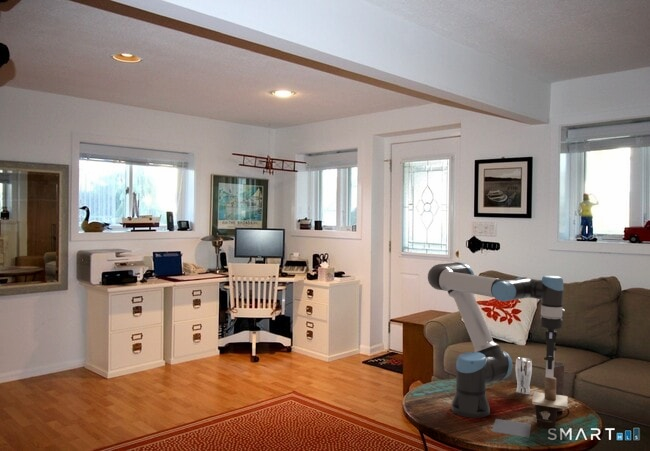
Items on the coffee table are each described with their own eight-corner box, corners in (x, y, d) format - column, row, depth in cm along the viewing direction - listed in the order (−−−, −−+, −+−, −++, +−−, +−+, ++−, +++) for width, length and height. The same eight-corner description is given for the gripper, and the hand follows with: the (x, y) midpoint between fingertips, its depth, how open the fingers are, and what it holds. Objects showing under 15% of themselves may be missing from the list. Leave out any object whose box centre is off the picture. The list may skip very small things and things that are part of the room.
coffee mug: (529, 425, 203) (529, 399, 203) (541, 419, 208) (542, 394, 208) (558, 435, 194) (558, 408, 194) (570, 429, 199) (570, 403, 199)
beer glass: (532, 391, 241) (533, 358, 240) (529, 395, 235) (530, 362, 235) (517, 388, 245) (517, 356, 244) (513, 392, 239) (514, 360, 238)
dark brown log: (565, 414, 214) (566, 365, 213) (546, 413, 215) (546, 364, 214) (560, 407, 221) (561, 360, 220) (542, 406, 223) (543, 359, 222)
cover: (532, 404, 198) (532, 380, 198) (534, 394, 209) (534, 371, 209) (567, 409, 193) (567, 385, 193) (567, 398, 204) (567, 375, 204)
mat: (491, 432, 196) (491, 431, 196) (495, 419, 208) (495, 418, 208) (529, 439, 191) (529, 437, 191) (531, 425, 203) (531, 424, 203)
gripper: (562, 324, 187) (560, 383, 188) (562, 311, 210) (561, 364, 211) (539, 322, 190) (537, 380, 191) (542, 310, 213) (540, 361, 214)
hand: (549, 372), depth 201 cm, fingers open, 13 cm apart
